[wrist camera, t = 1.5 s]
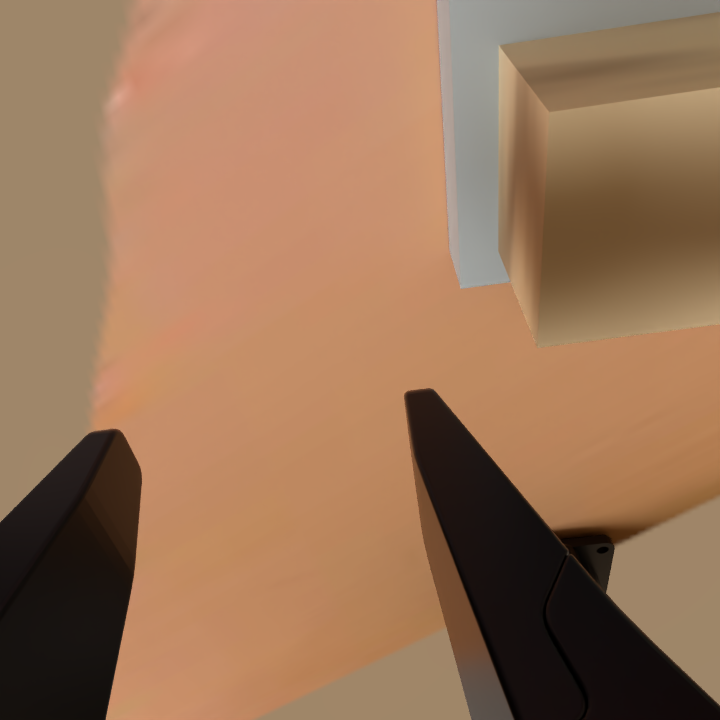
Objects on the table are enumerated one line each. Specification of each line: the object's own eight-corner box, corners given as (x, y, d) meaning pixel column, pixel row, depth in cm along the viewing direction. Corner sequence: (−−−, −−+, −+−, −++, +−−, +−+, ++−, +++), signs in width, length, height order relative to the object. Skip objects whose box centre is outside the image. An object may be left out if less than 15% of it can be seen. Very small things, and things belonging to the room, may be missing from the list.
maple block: (694, 224, 17) (778, 316, 14) (498, 251, 17) (537, 348, 14) (740, 8, 14) (862, 66, 11) (498, 45, 14) (549, 112, 11)
